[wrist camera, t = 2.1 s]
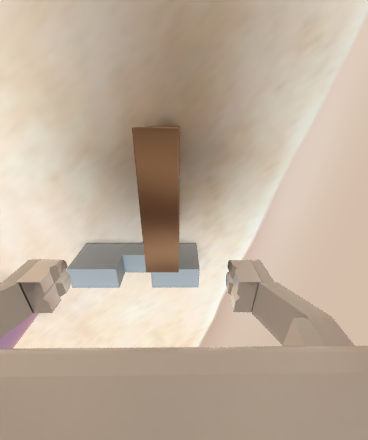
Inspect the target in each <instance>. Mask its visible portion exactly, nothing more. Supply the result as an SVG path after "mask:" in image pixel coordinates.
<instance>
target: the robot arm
mask: <svg viewBox="0 0 368 440" xmlns="http://www.w3.org/2000/svg"><path fill="white" fill-rule="evenodd" d="M66 268H67V264H66V261H64V260H49V259H42V260H41V259H32V260H28V261H27V262H26V263H25V264H24V265H22V266H21V267H20V268H19V269H18V270H17V271H15V272H14V273H13V274H12V275H11V276H10V277H8V278H7V279H6V280H5V281H4V282H3V283H0V338H2V337H3V336H5V335H6V334H7V333H9V332H10V331H11V330H13V329H14V328H15V327H17V326H18V325H19V324H21V323H22V322H23V321H25V320H26V319H27V318H29V317H30V316H31V315H33V313H52V312H53V311H54V310H55V308H56V307H57V305H58V304H59V302H60V301H61V299H60V297H61V296H62V295H64V294H65V293H66V292H67V291H68V289H69V287H70V284H71V276H70V274H69V273H68V272H67V271H66ZM228 269H229V272H228V273H227V275H226V286H227V291H228V293H229V294H230V295H231V298H230V301H231V305H232V308H233V311H234V312H252V314H253V315H254V316H255V317H256V318H257V319H258V320H259V321H260V322H261V323H262V324H263V325H264V326H265V327H266V328H267V329H268V331H270V333H271V334H272V335H273V336H274V337H275V338H276V339H277V340H278V341H279V342H280V343H281V344H282V345H283V346H282V347H160V348H36V349H0V440H368V346H355V345H354V344H353V343H352V342H351V340H350V339H349V338H348V336H347V335H346V334H345V333H344V331H343V330H342V329H341V328H340V326H339V325H338V324H337V323H336V322H335V320H334V319H333V318H332V317H331V316H330V315H328V314H326V313H325V312H323V311H322V310H320V309H319V308H317V307H315V306H314V305H312V304H311V303H309V302H308V301H306V300H304V299H303V298H301V297H300V296H298V295H296V294H295V293H293V292H292V291H290V290H288V289H287V288H285V287H284V286H282V285H281V284H279V283H275V282H274V281H273V280H272V278H271V276H270V275H269V273H268V271H267V270H266V268H265V267H264V265H263V263H262V262H261V261H260V260H229V262H228Z"/></svg>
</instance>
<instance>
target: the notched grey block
mask: <svg viewBox="0 0 368 440" xmlns="http://www.w3.org/2000/svg"><path fill="white" fill-rule="evenodd" d="M66 270H67V272H68V273H69V274H70V276H71V285H72V288H119V287H120V284H121V282H122V279H123V276H124V274H125V272H146V266H145V256H144V245H143V243H87V244H86V245H85V246H84V247H83V249H82V250H81V251H80V253H79V254H78V255H77V256H76V258H75V259H74V260H73V261H72V263H71V264H70V265H69V267H68V268H67V269H66ZM151 277H152V287H198V284H199V262H198V254H197V247H196V244H188V243H179V272H151Z"/></svg>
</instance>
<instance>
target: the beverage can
mask: <svg viewBox="0 0 368 440" xmlns="http://www.w3.org/2000/svg"><path fill="white" fill-rule="evenodd" d="M38 314H39V313H33V315H31V316H30V317H29V318H27V319H26V320H25V321H23V322H22V323H21V324H19V325H18V326H17V327H15V328H14V329H13V330H11V331H10V332H9V333H7V334H6V335H5V336H3V337H2V338H0V349H13V347H14V346H15V345H16V343H17V342H18V341H19V339H20V338H21V337H22V335H23V334H24V333H25V331H26V330H27V329H28V327H29V326H30V325H31V323H32V322H33V321H34V319H35V318H36V317H37V315H38Z"/></svg>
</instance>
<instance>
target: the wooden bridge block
mask: <svg viewBox="0 0 368 440" xmlns="http://www.w3.org/2000/svg"><path fill="white" fill-rule="evenodd" d="M132 132H133V143H134V153H135V163H136V174H137V184H138V194H139V204H140V215H141V225H142V235H143V245H144V256H145V266H146V272H179V164H180V127H173V126H149V127H137V128H132Z"/></svg>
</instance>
